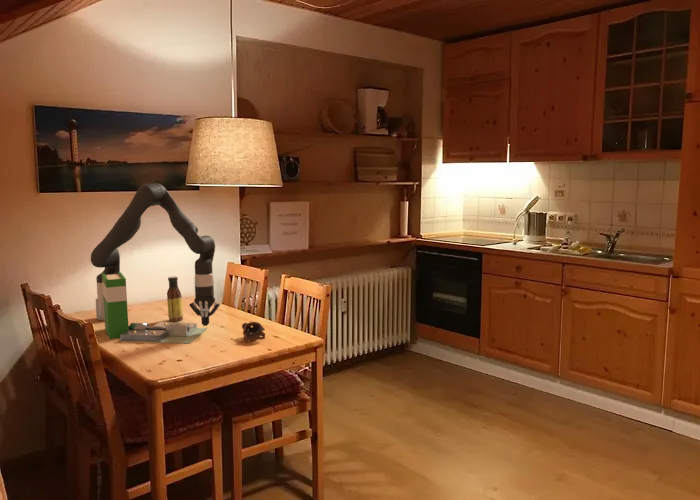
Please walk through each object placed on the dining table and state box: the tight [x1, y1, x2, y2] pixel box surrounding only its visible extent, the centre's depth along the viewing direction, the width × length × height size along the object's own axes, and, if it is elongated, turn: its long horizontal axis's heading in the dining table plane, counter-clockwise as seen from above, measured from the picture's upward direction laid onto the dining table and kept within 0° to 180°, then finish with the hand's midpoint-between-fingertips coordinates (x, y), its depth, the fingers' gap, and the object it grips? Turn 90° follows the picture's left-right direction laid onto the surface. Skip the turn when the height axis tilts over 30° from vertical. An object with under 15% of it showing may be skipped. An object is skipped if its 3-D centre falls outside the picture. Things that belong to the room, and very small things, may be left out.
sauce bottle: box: [166, 275, 184, 322], centre depth 267 cm, size 7×6×20 cm
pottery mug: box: [241, 321, 266, 343], centre depth 238 cm, size 12×10×8 cm
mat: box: [119, 327, 208, 344], centre depth 244 cm, size 28×22×1 cm
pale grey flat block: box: [152, 321, 198, 336], centre depth 247 cm, size 16×12×4 cm
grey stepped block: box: [119, 322, 167, 342], centre depth 240 cm, size 18×12×5 cm
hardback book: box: [101, 271, 129, 340], centre depth 245 cm, size 18×7×24 cm, turn 27°
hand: (205, 325), depth 246 cm, fingers closed
